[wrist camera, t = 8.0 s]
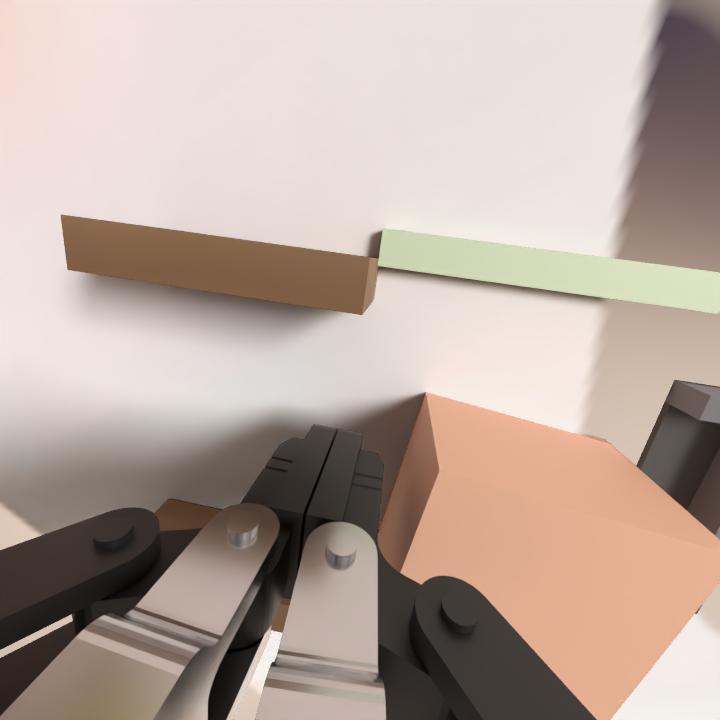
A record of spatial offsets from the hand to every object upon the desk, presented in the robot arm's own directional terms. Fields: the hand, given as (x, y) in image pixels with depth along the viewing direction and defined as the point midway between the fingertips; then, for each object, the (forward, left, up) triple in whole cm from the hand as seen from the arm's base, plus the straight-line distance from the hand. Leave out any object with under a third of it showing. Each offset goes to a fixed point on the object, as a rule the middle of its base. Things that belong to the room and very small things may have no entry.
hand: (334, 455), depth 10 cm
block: (+1, +5, -2) cm, 6 cm away
